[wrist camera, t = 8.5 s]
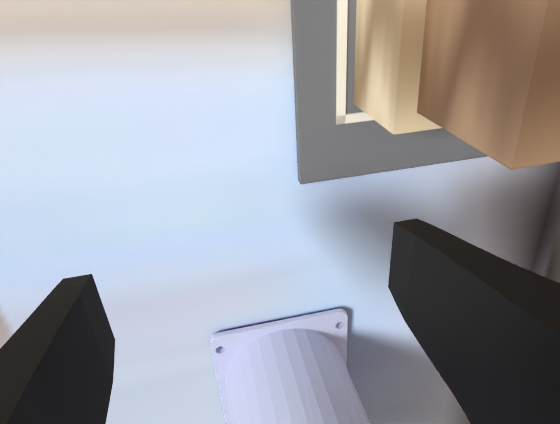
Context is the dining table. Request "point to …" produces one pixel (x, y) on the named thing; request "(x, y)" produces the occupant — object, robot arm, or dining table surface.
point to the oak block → (390, 63)
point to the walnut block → (494, 76)
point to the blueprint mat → (348, 105)
